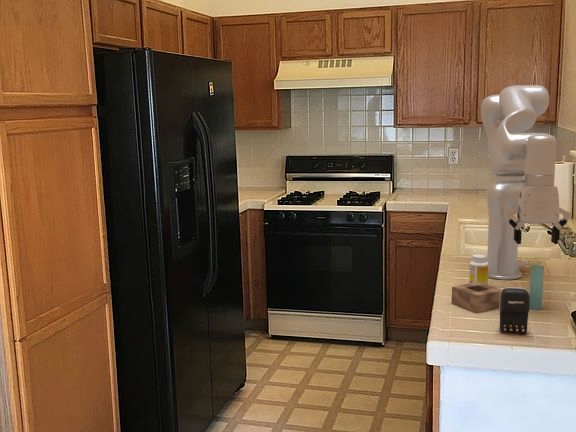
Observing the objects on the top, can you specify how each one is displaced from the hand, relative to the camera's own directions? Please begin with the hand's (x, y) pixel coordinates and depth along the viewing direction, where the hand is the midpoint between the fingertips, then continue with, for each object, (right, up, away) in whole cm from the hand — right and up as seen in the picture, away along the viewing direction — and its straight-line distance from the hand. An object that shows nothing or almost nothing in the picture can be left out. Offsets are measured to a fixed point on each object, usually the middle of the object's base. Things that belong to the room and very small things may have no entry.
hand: (536, 243), depth 173 cm
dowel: (+1, -18, +4) cm, 19 cm away
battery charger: (-12, -22, -15) cm, 29 cm away
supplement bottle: (-9, -15, +24) cm, 30 cm away
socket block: (-14, -18, +7) cm, 24 cm away
